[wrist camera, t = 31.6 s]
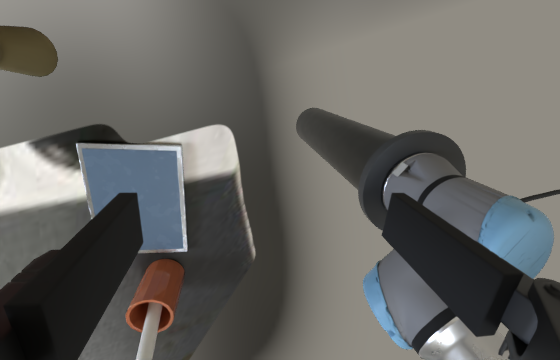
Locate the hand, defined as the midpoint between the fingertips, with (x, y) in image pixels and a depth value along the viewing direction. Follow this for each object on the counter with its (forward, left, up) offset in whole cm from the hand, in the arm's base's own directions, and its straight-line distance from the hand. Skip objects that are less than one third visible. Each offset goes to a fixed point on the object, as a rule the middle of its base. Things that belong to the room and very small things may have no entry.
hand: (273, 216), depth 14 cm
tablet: (+18, +14, -32) cm, 39 cm away
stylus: (+15, +27, -31) cm, 44 cm away
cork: (+29, -8, -32) cm, 44 cm away
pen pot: (+15, +29, -32) cm, 46 cm away
